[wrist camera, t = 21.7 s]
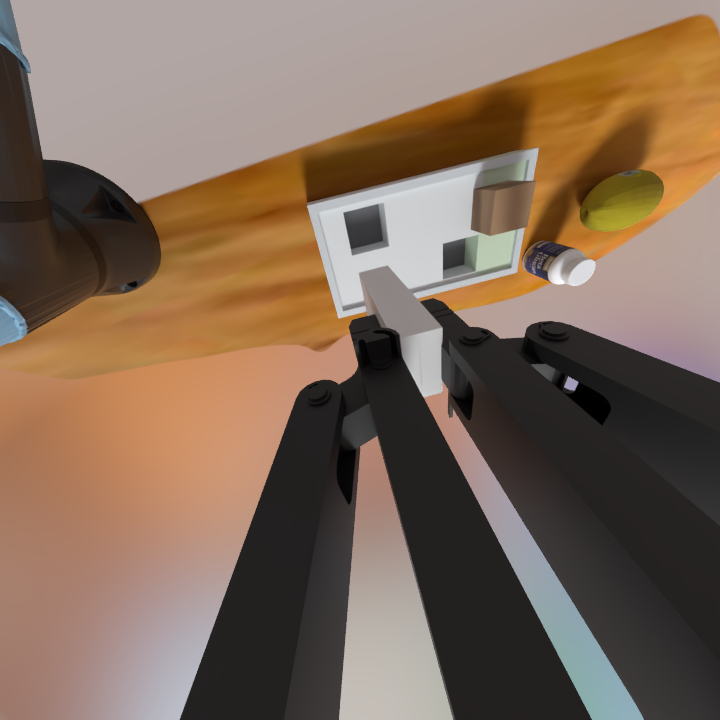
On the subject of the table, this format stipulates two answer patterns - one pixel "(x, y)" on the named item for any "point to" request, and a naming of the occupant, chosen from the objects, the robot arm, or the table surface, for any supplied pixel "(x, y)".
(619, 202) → the lemon
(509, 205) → the walnut block
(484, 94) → the table surface
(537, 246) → the pill bottle
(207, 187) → the table surface
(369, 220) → the board
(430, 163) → the table surface
